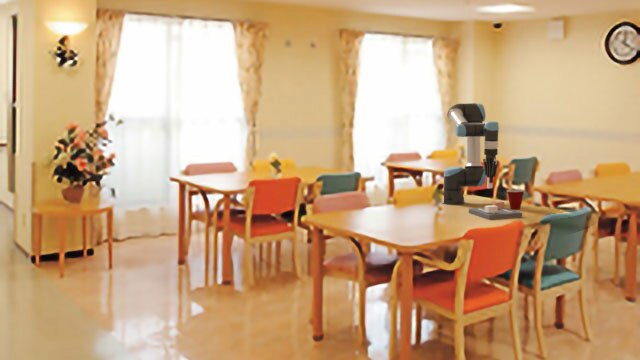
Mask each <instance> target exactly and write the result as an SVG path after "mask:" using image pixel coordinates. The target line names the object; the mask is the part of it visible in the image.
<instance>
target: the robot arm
mask: <svg viewBox="0 0 640 360" xmlns="http://www.w3.org/2000/svg"><path fill="white" fill-rule="evenodd" d="M446 113H447V114H446V115H447V119H448V120H449V122H451V123H452V124H453V125H454V127H455V132H454V133H455V136H456V137H458V138H459V137H460V138H461V137H462V138H464V137H465V138H466V161H467V163H466V164H465V165H464V168H463V167H462V166H451V167H447V168H445V169H444V171H443V191H442V194H443V195H444V203H443V204H444V205H463V204H465V197H464V194H463V188H464V187H465V188H468V187H469V188H470V187H471V188H472V187H475V188H476V187H483V186H484V184H485V182H486V181H487V182H486V186H487V187H486V189H493V182H494V178H496V176H497V169H498V164H499V161H498V160H497V157H496V156H497V155H499V153H498V147H499V128H500V127H499V122H498V121H491V120H490V121H486V111H485V107H484V105H483V104H482V103H475V102H474V103H469V102H468V103H456V104H454V105H452V106H451V107H449V109H448V110H447V112H446ZM485 121H486V122H485ZM483 122H485V123H483ZM481 137H483V138H484V151H483V153H484V155H485V158H483V159H482V158H481V154H482V153H481V151H482V150H481V147H482V146H481ZM481 159H482V160H481ZM481 161H483V164H482V163H481Z"/></svg>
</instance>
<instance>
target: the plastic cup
mask: <svg viewBox="0 0 640 360" xmlns="http://www.w3.org/2000/svg"><path fill="white" fill-rule="evenodd" d="M524 192H525V189H508V190H506V193H507V197H508V198H507V199H508V204H509V209H511V210H515V211H519V210H521V207H522V202H523V197H524Z"/></svg>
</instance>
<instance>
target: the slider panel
mask: <svg viewBox="0 0 640 360" xmlns="http://www.w3.org/2000/svg"><path fill="white" fill-rule="evenodd" d="M468 214H471V215H474V216H477V217H480V218H483V219H486V220H500V219H501V220H502V219H503V220H504V219H514V217H516V218H522V217H523V212H522V211H519V210H512V209H510V208H508V207H504V208H498V212H496V213H487V212H485V207H477V208H476V207H475V208H468Z"/></svg>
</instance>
